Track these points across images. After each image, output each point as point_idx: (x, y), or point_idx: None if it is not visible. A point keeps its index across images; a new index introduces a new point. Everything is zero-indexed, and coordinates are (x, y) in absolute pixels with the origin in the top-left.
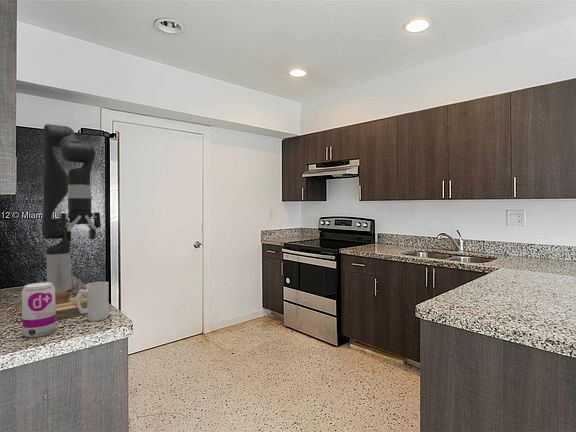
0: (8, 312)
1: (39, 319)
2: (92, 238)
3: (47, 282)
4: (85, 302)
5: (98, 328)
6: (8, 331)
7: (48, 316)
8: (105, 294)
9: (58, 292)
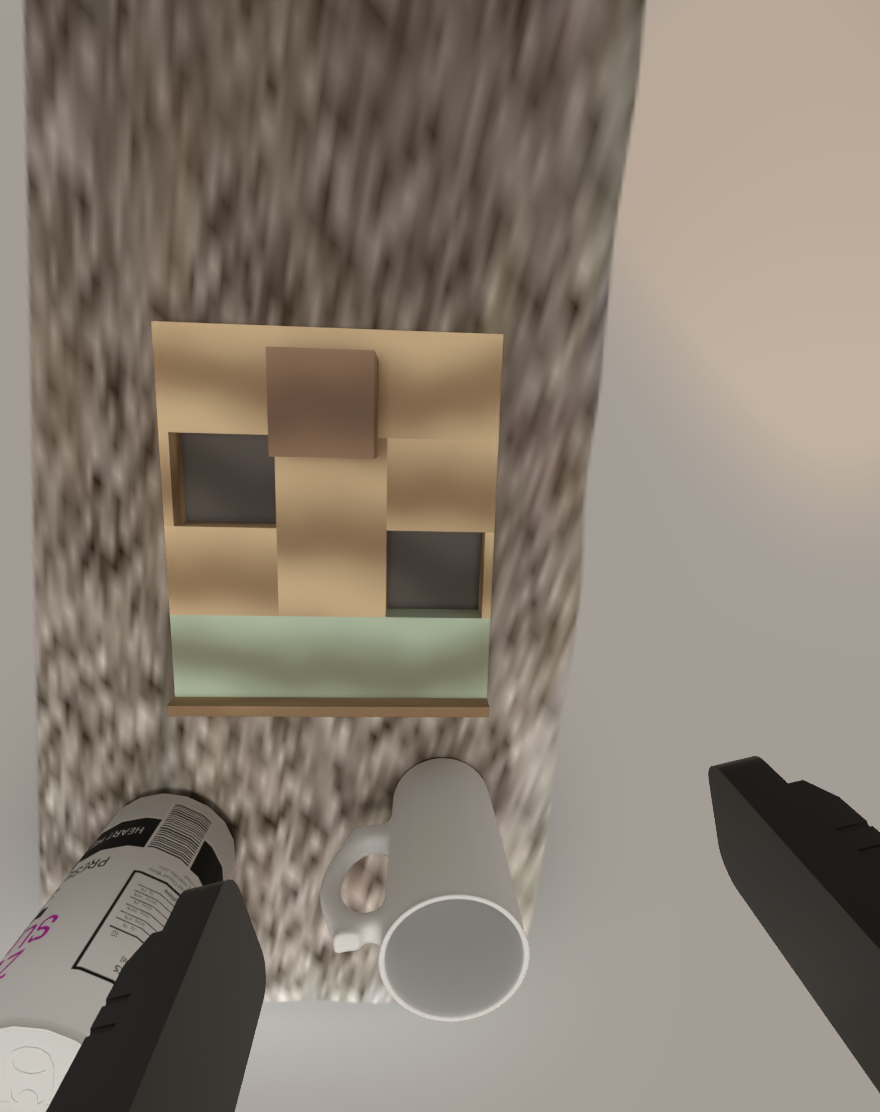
0: (51, 276)
1: None
2: (733, 883)
3: None
4: (460, 531)
5: None
6: (53, 714)
7: None
8: (479, 948)
9: (320, 360)
